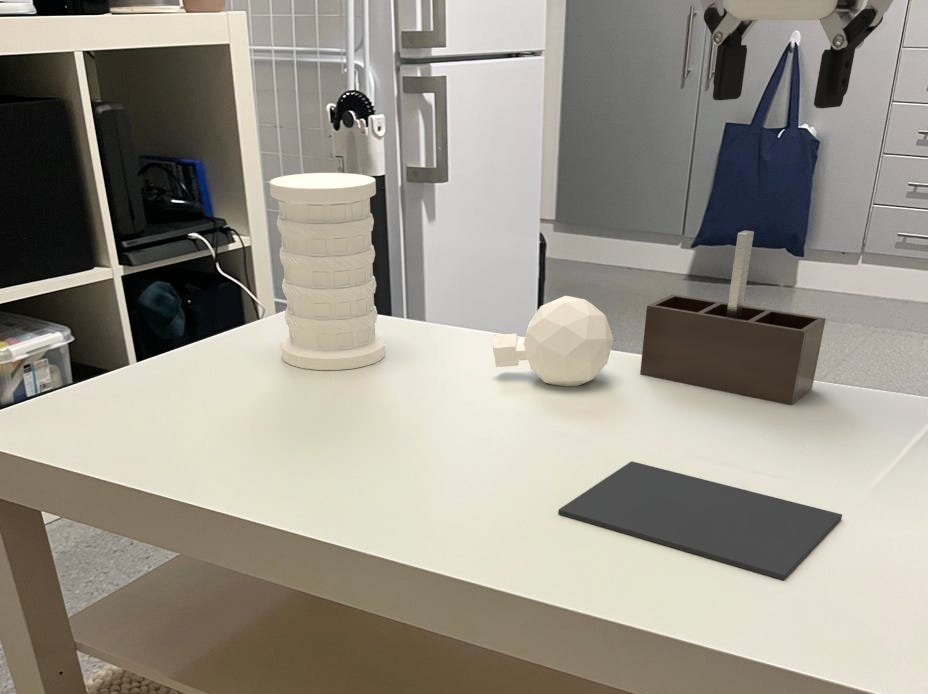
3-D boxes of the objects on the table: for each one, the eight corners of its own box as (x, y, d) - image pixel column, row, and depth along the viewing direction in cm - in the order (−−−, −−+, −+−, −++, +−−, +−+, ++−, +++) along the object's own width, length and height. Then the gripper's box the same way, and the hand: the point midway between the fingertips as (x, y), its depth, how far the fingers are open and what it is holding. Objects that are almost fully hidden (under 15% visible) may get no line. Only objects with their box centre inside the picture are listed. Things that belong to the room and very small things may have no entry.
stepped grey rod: (735, 378, 104) (757, 230, 97) (722, 386, 102) (744, 235, 94) (726, 376, 105) (747, 228, 97) (713, 384, 103) (734, 234, 95)
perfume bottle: (615, 352, 108) (504, 362, 110) (611, 274, 101) (492, 285, 103) (615, 403, 102) (497, 411, 104) (610, 323, 95) (485, 334, 98)
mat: (841, 519, 77) (842, 514, 77) (783, 580, 69) (785, 575, 69) (630, 465, 86) (631, 460, 86) (558, 514, 78) (558, 509, 78)
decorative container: (406, 350, 115) (401, 178, 105) (339, 377, 107) (327, 192, 97) (329, 334, 121) (318, 169, 111) (260, 358, 113) (242, 182, 103)
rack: (664, 366, 110) (672, 294, 106) (811, 394, 102) (826, 318, 98) (639, 379, 106) (646, 305, 102) (790, 410, 98) (804, 331, 94)
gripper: (954, -167, 71) (896, 107, 80) (746, -145, 82) (716, 94, 91) (900, -177, 67) (845, 113, 76) (689, -153, 78) (663, 99, 87)
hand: (775, 103), depth 84 cm, fingers open, 9 cm apart
